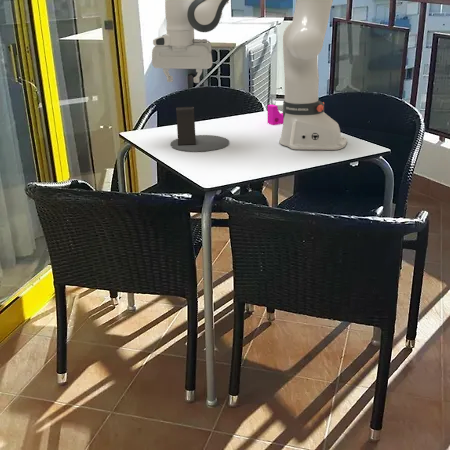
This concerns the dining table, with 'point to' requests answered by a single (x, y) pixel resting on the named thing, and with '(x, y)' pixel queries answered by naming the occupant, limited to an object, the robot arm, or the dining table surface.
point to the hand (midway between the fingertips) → (183, 82)
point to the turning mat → (202, 144)
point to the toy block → (274, 115)
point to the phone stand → (185, 126)
